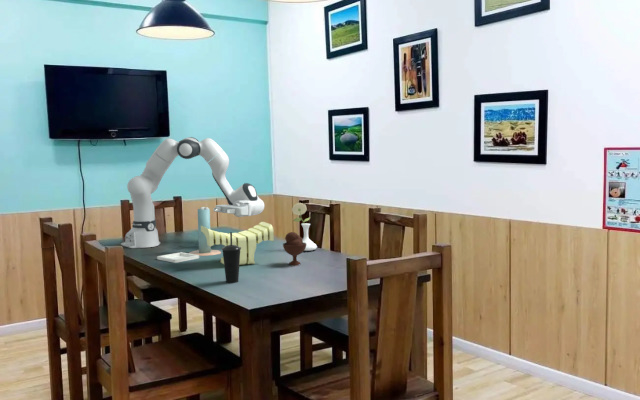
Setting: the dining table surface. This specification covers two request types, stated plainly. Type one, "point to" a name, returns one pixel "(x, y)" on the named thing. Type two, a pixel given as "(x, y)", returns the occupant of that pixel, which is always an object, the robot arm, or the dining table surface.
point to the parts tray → (177, 257)
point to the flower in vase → (304, 225)
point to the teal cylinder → (205, 222)
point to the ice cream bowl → (294, 246)
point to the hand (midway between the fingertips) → (220, 210)
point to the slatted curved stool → (242, 240)
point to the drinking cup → (231, 261)
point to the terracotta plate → (213, 252)
